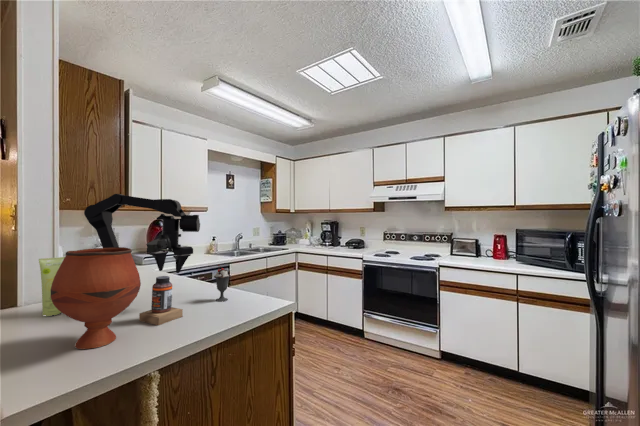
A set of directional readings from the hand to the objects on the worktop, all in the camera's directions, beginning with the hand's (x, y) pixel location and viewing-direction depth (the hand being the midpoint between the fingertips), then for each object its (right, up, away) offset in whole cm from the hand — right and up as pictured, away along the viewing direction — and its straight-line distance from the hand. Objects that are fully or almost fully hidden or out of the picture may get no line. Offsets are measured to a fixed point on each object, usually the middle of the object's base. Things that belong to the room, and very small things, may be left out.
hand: (169, 271), depth 108 cm
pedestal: (+5, -13, -15) cm, 20 cm away
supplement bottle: (+5, -10, -14) cm, 18 cm away
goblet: (-2, -12, -33) cm, 35 cm away
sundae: (+17, -14, +9) cm, 24 cm away
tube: (-33, -12, -13) cm, 38 cm away
